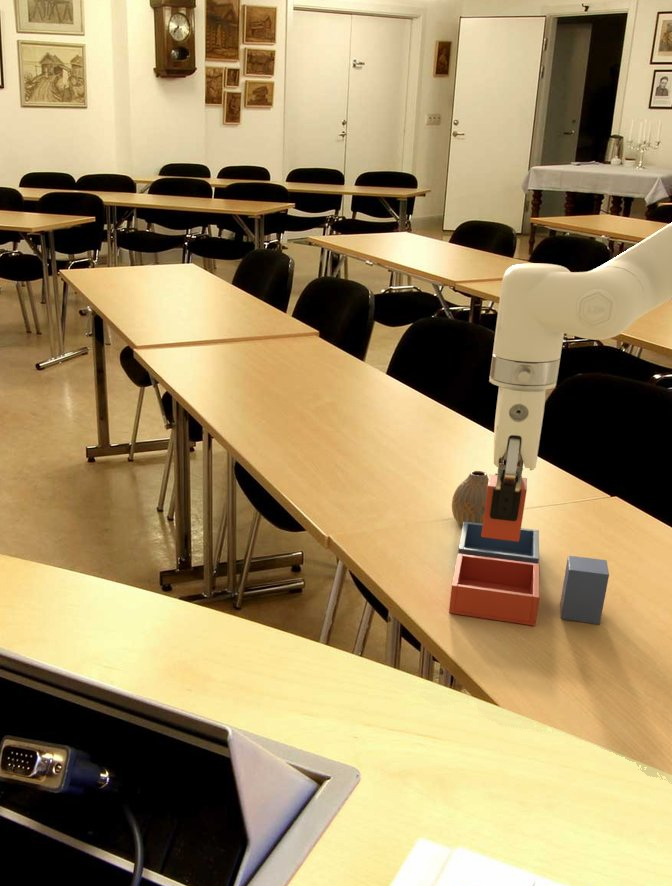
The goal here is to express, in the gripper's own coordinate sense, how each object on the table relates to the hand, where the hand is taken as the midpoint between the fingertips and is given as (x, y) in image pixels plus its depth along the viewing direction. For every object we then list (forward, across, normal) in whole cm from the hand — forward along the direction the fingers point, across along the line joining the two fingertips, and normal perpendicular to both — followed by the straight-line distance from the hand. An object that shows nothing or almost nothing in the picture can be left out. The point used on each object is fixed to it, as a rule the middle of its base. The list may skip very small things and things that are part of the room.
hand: (504, 510), depth 116 cm
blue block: (+13, 0, -11) cm, 17 cm away
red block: (+3, 0, 0) cm, 3 cm away
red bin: (+13, 0, 0) cm, 13 cm away
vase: (+13, +26, +4) cm, 29 cm away
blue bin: (+13, +12, 0) cm, 18 cm away
